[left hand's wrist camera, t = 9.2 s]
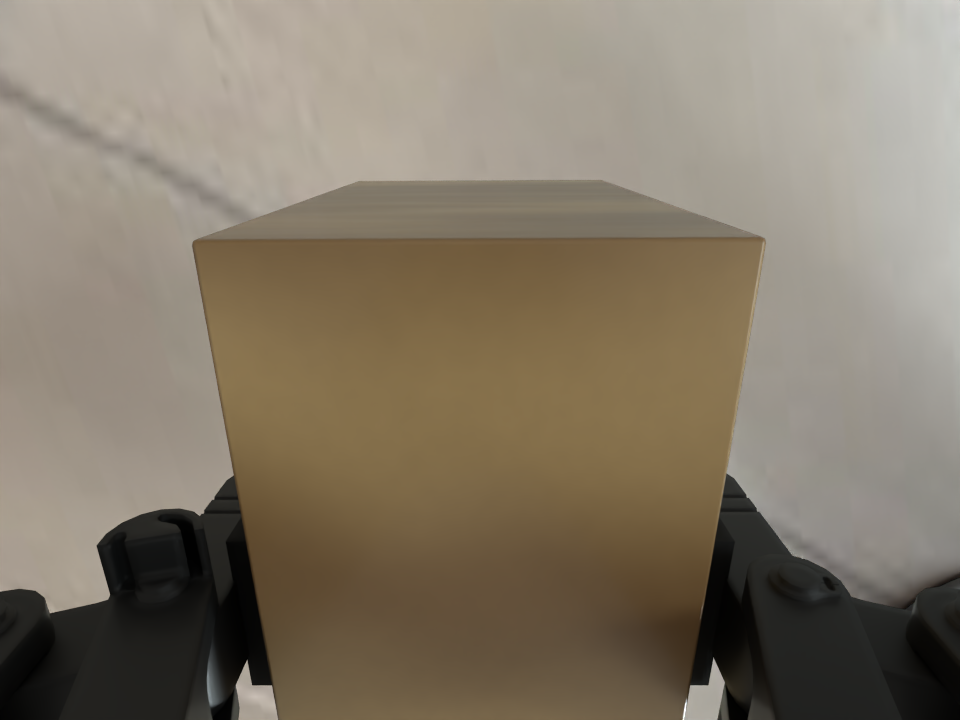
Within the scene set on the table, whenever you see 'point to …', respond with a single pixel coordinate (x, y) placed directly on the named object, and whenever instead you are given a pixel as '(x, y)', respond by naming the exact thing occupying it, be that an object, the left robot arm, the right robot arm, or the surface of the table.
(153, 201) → the table surface
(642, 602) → the bar
